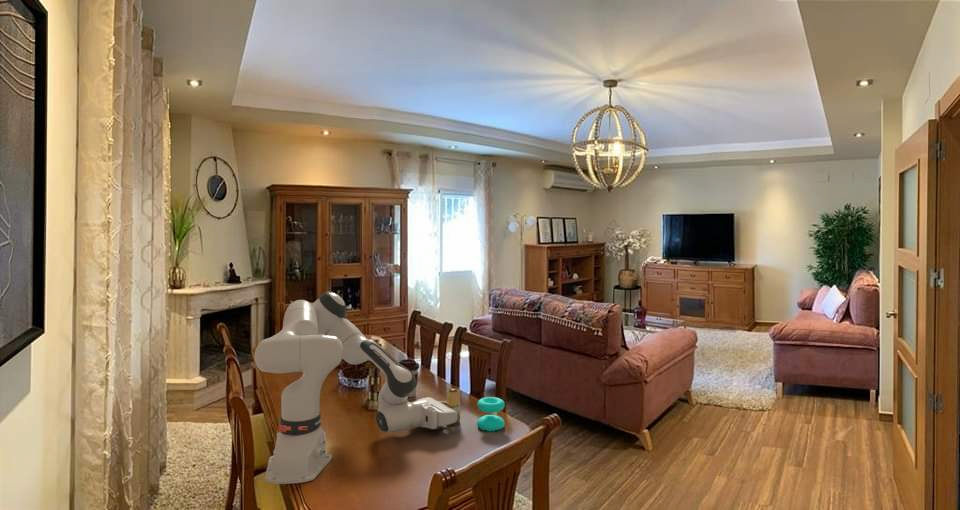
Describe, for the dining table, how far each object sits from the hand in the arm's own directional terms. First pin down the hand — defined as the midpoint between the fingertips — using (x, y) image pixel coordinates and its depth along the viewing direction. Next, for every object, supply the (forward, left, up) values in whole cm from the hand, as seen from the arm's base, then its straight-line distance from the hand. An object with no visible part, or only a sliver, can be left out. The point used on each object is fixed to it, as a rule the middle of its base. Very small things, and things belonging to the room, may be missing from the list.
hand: (454, 406), depth 194 cm
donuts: (-5, -13, -6) cm, 16 cm away
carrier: (-2, +8, -6) cm, 10 cm away
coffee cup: (+33, +19, -6) cm, 39 cm away
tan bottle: (0, 0, -6) cm, 6 cm away
